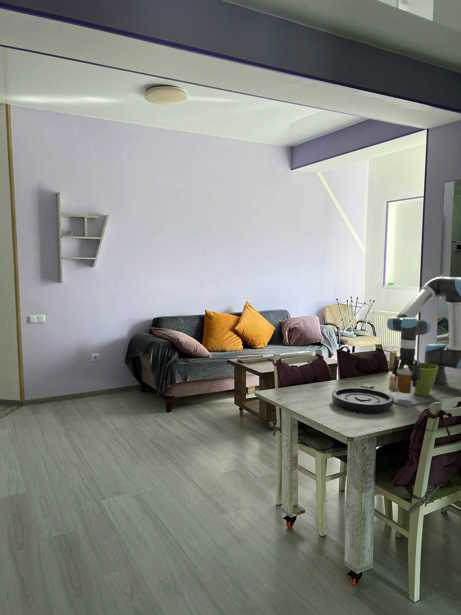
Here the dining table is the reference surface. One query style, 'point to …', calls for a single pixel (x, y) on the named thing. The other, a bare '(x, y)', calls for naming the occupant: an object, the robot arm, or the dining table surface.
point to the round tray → (362, 400)
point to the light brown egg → (392, 382)
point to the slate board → (408, 400)
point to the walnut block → (367, 386)
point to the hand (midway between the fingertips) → (405, 390)
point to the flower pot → (426, 379)
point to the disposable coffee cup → (404, 380)
